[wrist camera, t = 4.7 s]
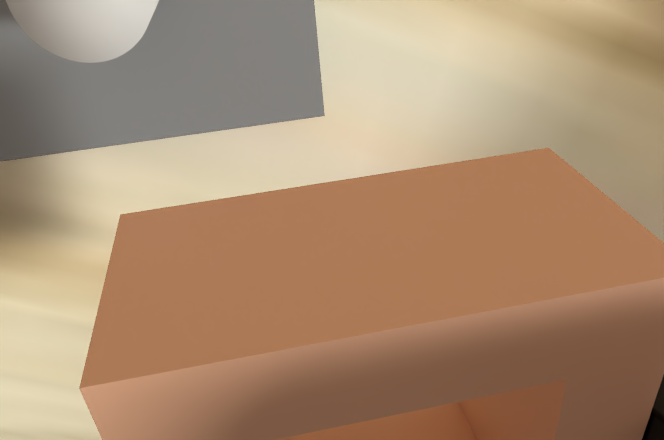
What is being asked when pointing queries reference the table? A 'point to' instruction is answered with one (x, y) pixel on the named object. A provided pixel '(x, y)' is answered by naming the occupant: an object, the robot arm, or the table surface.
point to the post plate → (151, 70)
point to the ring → (384, 312)
